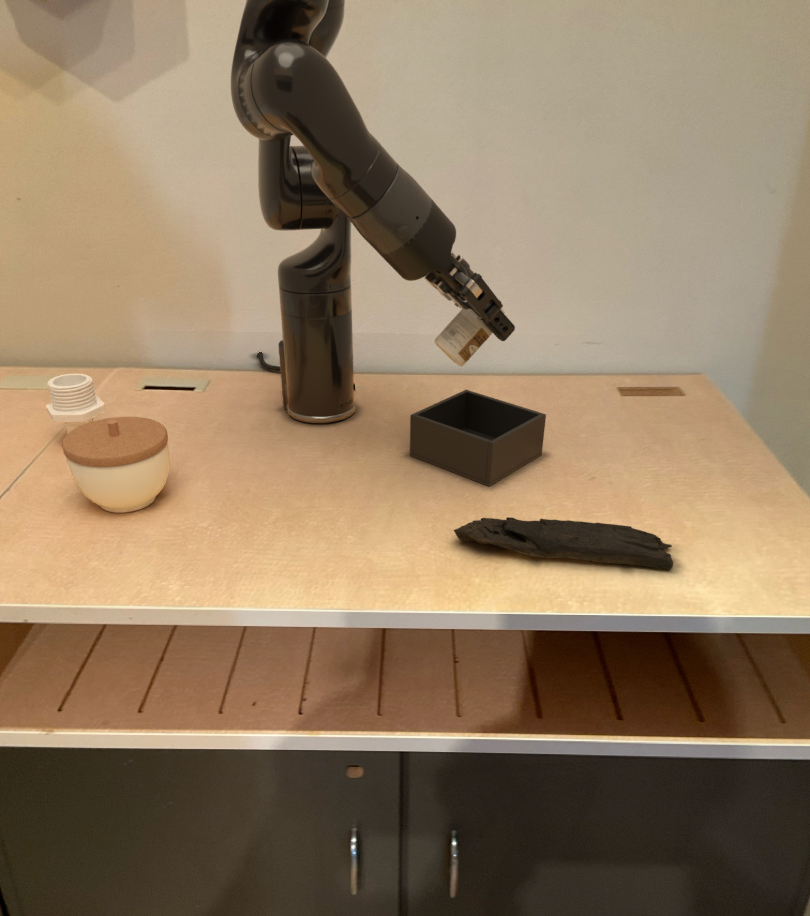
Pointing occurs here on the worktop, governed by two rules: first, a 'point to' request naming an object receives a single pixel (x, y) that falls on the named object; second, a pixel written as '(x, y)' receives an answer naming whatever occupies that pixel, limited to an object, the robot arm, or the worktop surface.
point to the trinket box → (119, 461)
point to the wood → (570, 540)
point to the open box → (477, 436)
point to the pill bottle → (463, 337)
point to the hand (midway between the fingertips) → (497, 327)
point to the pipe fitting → (73, 400)
